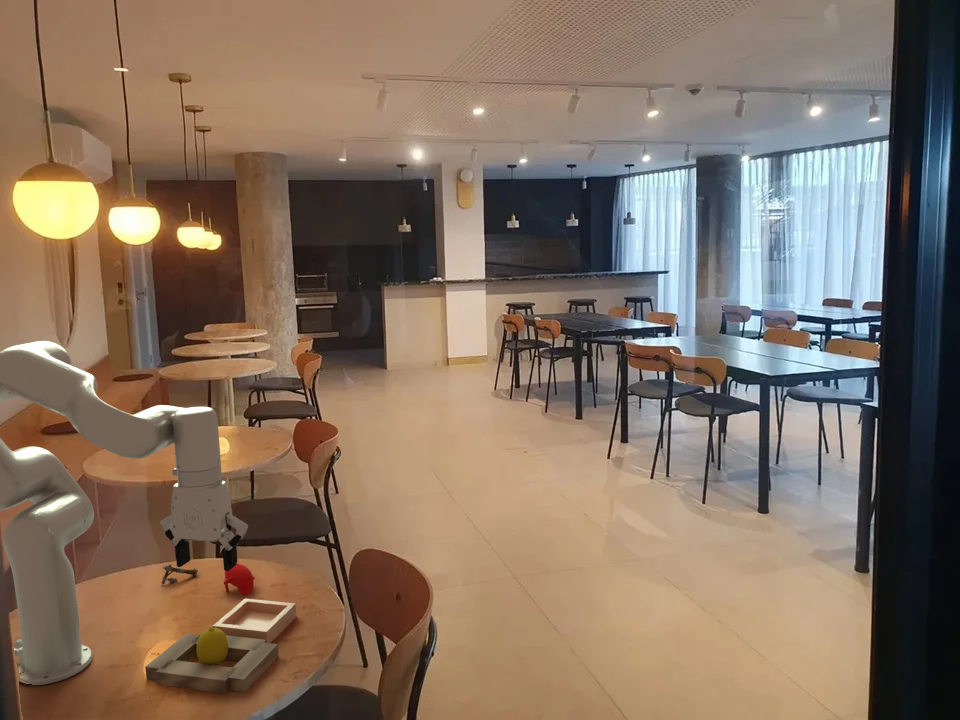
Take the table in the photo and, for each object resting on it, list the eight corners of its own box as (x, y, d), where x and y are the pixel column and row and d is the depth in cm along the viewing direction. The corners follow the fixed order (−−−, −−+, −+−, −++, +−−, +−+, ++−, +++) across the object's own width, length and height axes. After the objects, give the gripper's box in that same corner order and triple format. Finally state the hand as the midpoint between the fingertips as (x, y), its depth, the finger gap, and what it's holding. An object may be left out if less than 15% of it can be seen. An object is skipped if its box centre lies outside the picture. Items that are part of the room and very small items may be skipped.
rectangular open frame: (142, 682, 133) (141, 669, 133) (190, 642, 147) (189, 631, 146) (241, 695, 129) (240, 682, 128) (281, 653, 142) (280, 641, 142)
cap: (213, 577, 169) (221, 571, 165) (234, 560, 173) (242, 554, 169) (235, 604, 169) (243, 599, 165) (255, 587, 173) (263, 582, 169)
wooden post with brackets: (156, 581, 173) (163, 562, 174) (189, 585, 178) (195, 567, 179) (159, 584, 172) (165, 565, 172) (191, 587, 177) (198, 569, 177)
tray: (213, 639, 148) (212, 625, 147) (245, 611, 159) (244, 598, 159) (267, 646, 145) (266, 631, 144) (296, 616, 156) (295, 603, 156)
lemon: (191, 671, 136) (188, 631, 135) (215, 656, 141) (212, 617, 140) (213, 679, 134) (209, 638, 133) (236, 663, 139) (233, 624, 138)
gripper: (144, 480, 131) (152, 571, 133) (231, 484, 127) (238, 578, 129) (170, 467, 138) (178, 554, 140) (253, 472, 134) (260, 561, 136)
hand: (207, 566), depth 135 cm, fingers open, 9 cm apart
